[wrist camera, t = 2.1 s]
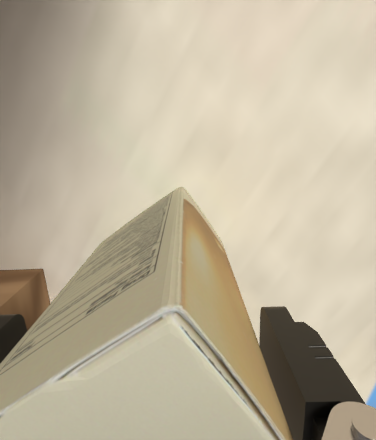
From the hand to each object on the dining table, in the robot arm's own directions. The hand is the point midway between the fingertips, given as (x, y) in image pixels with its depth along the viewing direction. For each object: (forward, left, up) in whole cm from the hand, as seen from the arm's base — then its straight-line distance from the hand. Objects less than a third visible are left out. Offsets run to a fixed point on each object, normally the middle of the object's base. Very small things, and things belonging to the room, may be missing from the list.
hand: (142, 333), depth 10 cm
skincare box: (0, 0, -8) cm, 8 cm away
